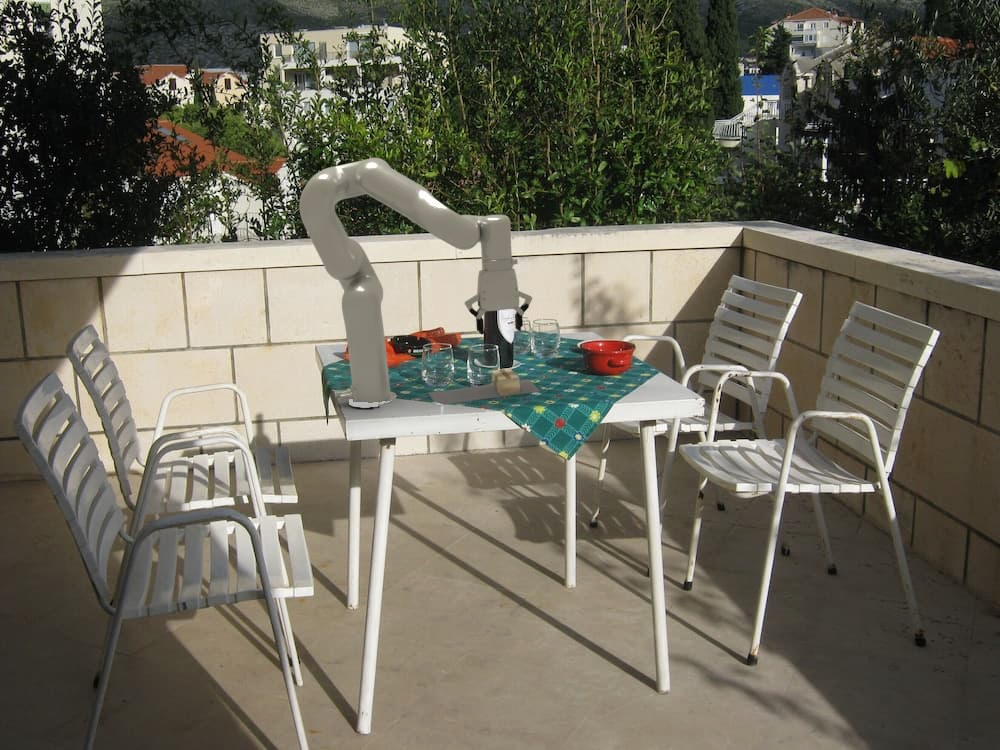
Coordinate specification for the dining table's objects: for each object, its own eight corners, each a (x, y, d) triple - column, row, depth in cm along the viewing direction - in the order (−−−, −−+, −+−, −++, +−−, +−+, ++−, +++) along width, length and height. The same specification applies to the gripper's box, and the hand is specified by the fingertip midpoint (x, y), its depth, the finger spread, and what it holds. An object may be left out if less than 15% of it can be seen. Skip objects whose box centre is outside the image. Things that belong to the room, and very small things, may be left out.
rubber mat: (436, 407, 268) (436, 405, 268) (428, 394, 279) (428, 392, 279) (540, 393, 273) (540, 391, 273) (528, 381, 285) (528, 379, 285)
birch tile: (492, 385, 282) (491, 370, 281) (511, 382, 283) (510, 367, 282) (501, 395, 272) (500, 379, 271) (520, 392, 273) (519, 377, 272)
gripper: (526, 260, 274) (529, 325, 279) (460, 265, 270) (463, 331, 275) (534, 264, 267) (536, 331, 272) (466, 270, 263) (469, 338, 268)
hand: (499, 331), depth 273 cm, fingers open, 9 cm apart
